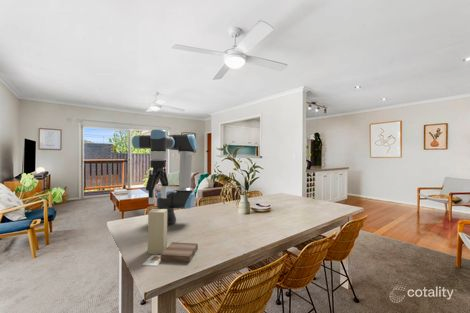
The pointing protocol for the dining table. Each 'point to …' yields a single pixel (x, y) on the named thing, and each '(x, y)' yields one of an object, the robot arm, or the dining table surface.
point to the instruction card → (152, 260)
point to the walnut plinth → (179, 252)
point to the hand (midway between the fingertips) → (158, 200)
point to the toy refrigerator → (157, 231)
